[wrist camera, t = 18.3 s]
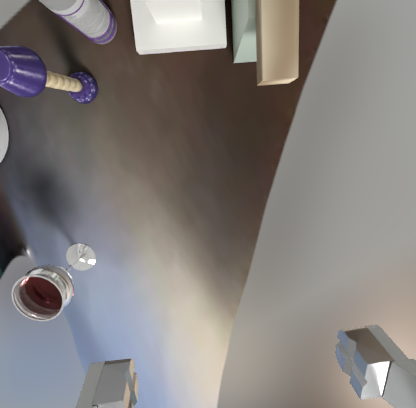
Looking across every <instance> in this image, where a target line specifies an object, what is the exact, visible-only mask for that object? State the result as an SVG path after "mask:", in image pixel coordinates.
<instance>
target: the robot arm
mask: <svg viewBox="0 0 416 408" xmlns="http://www.w3.org/2000/svg"><path fill="white" fill-rule="evenodd" d="M8 141H9V133H8V126H7V122H6V119H5V116H4V114H3V112H2V110H1V108H0V162H1V161H2V160H3V158H4V156H5V154H6V151H7V147H8ZM338 339H339V340H340V342H339V343H338V344H337V345H336V356H337V360H338V363H339V365H340V367H341V368H342V370H343V372H345V373H346V374H348V375H349V376H350V384H351V385H352V387H353V388H354V390H355V392H356V393H357V395H358V397H359V398H360V399H361V400H362V399H370V398H379V397H383V399H384V400H385V401H387V402H388V403H389V404H390V405H392V406H393V407H394V408H416V360H414V359H408V358H407V357H406V355H405V354H404V353H403V352H402V351H401V350H400V349H399V348H398V347H397V345H396V344H395V343H394V342H393V341H392V340H391V339H390V337H389V336H388V335H387V334H386V333H385V332H384V331H383V329H382V328H381V327H380V326H378V325H370V326H364V327H363V326H361V327H354V328H348V329H341V330H339V332H338ZM134 366H135V364H134V360H133V359H123V360H114V361H105V362H98V363H92V364H91V365H90V367H89V369H88V372H87V375H86V378H85V381H84V384H83V387H82V390H81V393H80V397H79V399H78V403H77V406H76V408H134V405H135V404H136V403H137V398H138V378H137V373H135V372H134Z"/></svg>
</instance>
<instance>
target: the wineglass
mask: <svg viewBox="0 0 416 408" xmlns="http://www.w3.org/2000/svg"><path fill="white" fill-rule="evenodd" d="M66 258H67V261H68V263H69V264H70V266H68V267H67V268H66V269H63V268H62V267H59V266H57V265H50V264H48V265H42V266H38V267H36V268H34V269H32V270H30V271H29V272H28V273H27V274H26V275H25V276H24V277H23V278H21V279H19V280H18V281H17V282H16V283H15V284H14V286H13V289H12V300H13V303H14V305H15V307H16V308H17V309H18V310H19V312H20V313H21V314H23V315H24V316H26V317H27V318H30V319H33V320H36V321H47V320H51V319H53V318H55V317H57V316H58V315H59V314H60V313H61V311H62V309H64V308H65V307H66V306H67V305H68V304H69V303H70V301H71V299H72V297H73V294H74V281H73V278H72V276H71V275H70V274H69V271H70V270H71V269H72V268H75V269H77V270H82V271H84V270H88V269H90V268H92V266H93V265H94V263H95V259H96V257H95V254H94V252H93V250H92V249H91V248H90V247H89V246H87V245H85V244H79V243H78V244H74V245H72V246H70V247H69V248H68V250H67V253H66Z"/></svg>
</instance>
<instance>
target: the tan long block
mask: <svg viewBox="0 0 416 408" xmlns="http://www.w3.org/2000/svg"><path fill="white" fill-rule="evenodd" d="M255 11H256V55H257V86H259V85H272V84H285V83H290V82H292V81H293V80H295V79H296V78H298V48H299V0H255Z"/></svg>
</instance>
